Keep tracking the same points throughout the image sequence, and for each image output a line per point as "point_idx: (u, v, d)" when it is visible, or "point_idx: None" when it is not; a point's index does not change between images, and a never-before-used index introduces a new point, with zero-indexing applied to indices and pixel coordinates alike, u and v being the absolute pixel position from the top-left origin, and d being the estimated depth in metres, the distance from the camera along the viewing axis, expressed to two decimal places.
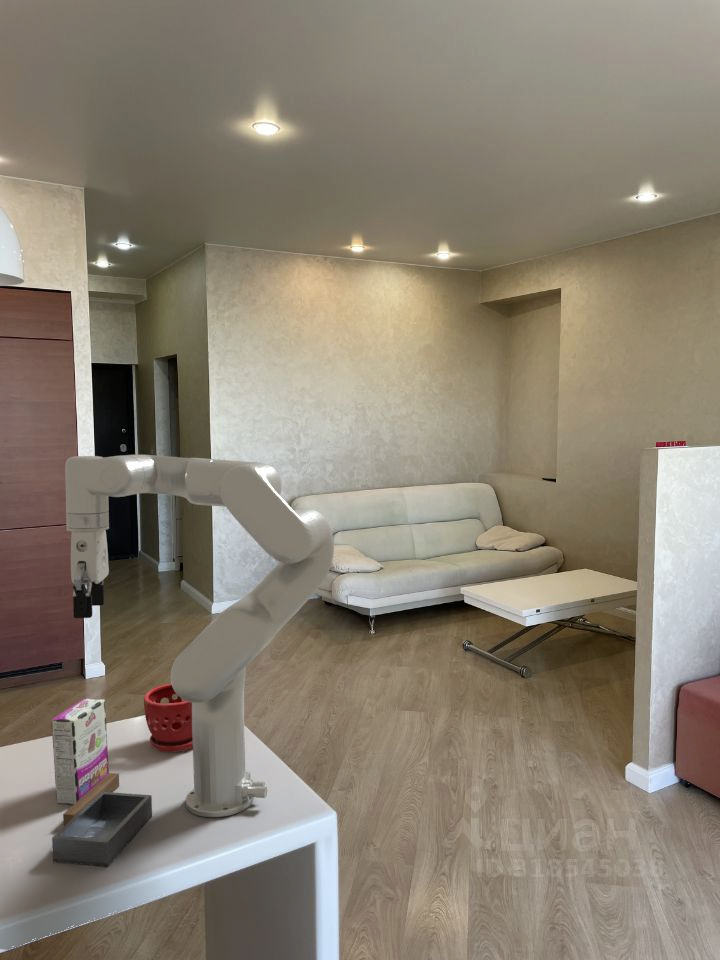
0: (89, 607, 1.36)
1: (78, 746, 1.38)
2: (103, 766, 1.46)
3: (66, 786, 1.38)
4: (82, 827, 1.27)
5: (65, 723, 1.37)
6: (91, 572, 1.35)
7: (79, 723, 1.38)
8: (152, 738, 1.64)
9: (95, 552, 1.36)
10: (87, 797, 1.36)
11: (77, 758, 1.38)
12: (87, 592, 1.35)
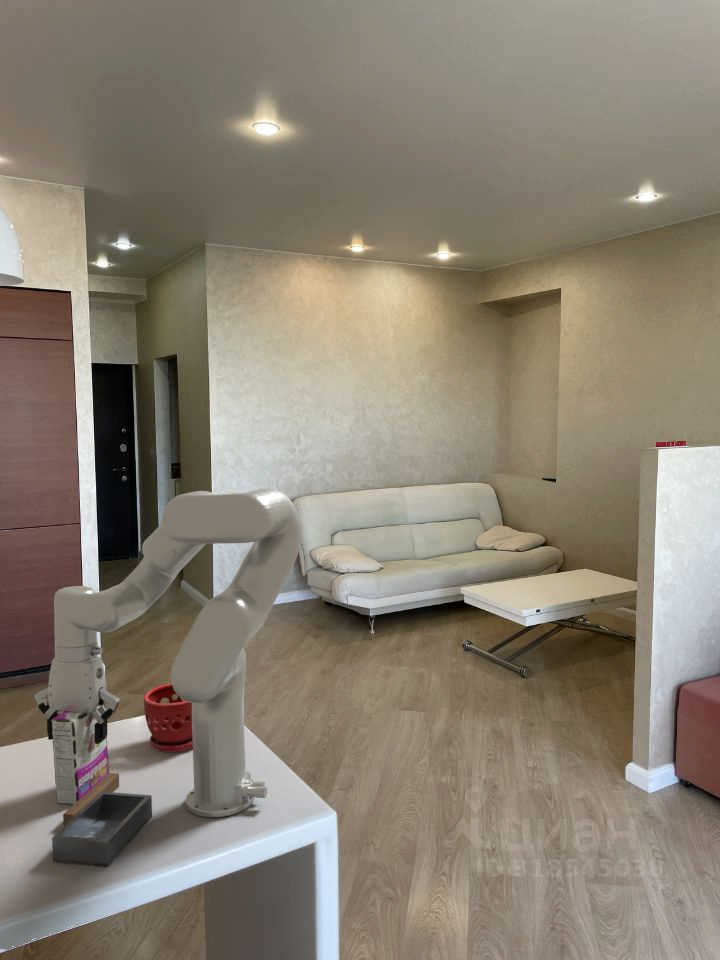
0: None
1: (78, 746, 1.38)
2: (103, 766, 1.46)
3: (66, 786, 1.38)
4: (82, 827, 1.27)
5: (65, 723, 1.37)
6: None
7: (79, 724, 1.38)
8: (152, 738, 1.64)
9: (104, 675, 1.44)
10: (87, 797, 1.36)
11: (77, 758, 1.38)
12: None
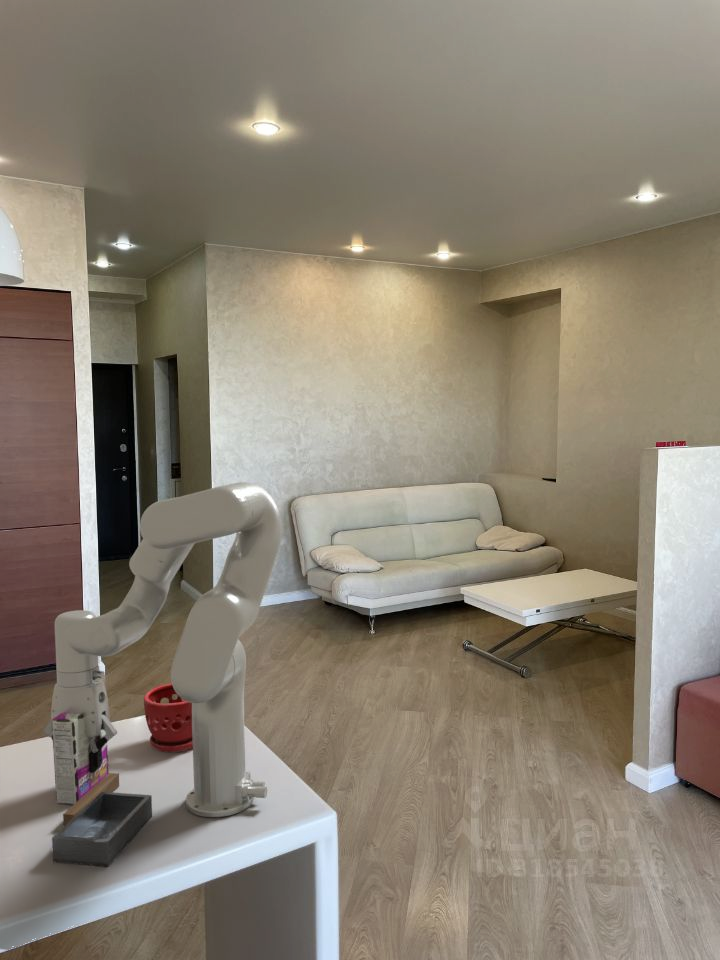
0: None
1: (78, 746, 1.38)
2: (103, 766, 1.46)
3: (66, 786, 1.38)
4: (82, 827, 1.27)
5: (65, 723, 1.37)
6: (108, 718, 1.43)
7: (79, 723, 1.38)
8: (152, 738, 1.64)
9: (107, 699, 1.44)
10: (87, 797, 1.36)
11: (77, 758, 1.38)
12: None
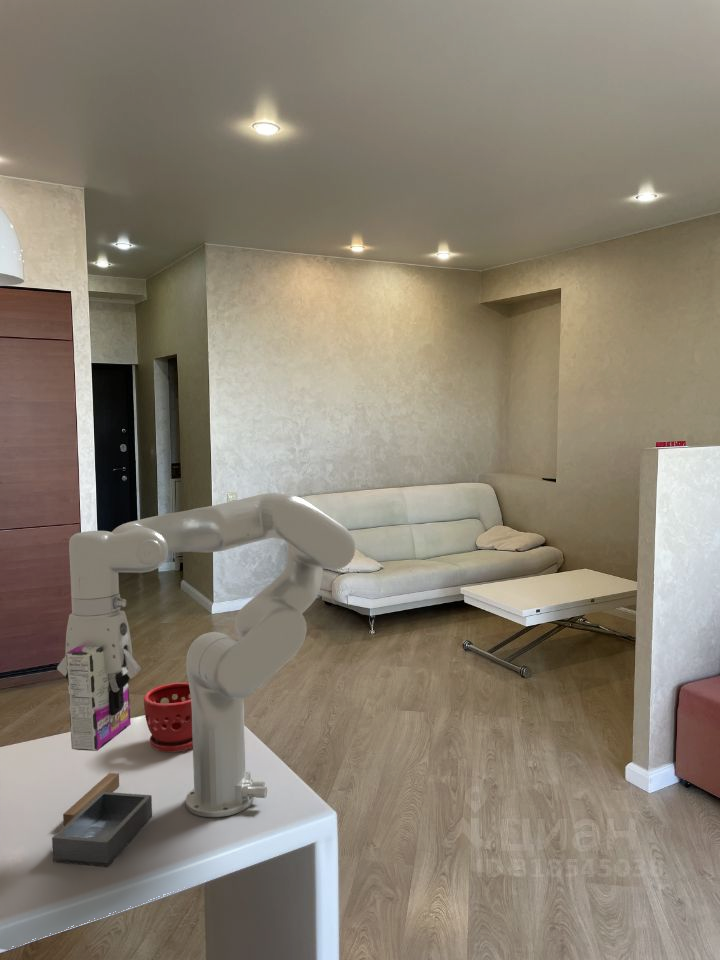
0: None
1: (97, 683, 1.20)
2: (124, 710, 1.28)
3: (83, 729, 1.20)
4: (82, 827, 1.27)
5: (82, 656, 1.19)
6: (130, 654, 1.25)
7: (97, 657, 1.20)
8: (152, 738, 1.64)
9: (129, 632, 1.26)
10: (87, 797, 1.36)
11: (95, 697, 1.19)
12: None
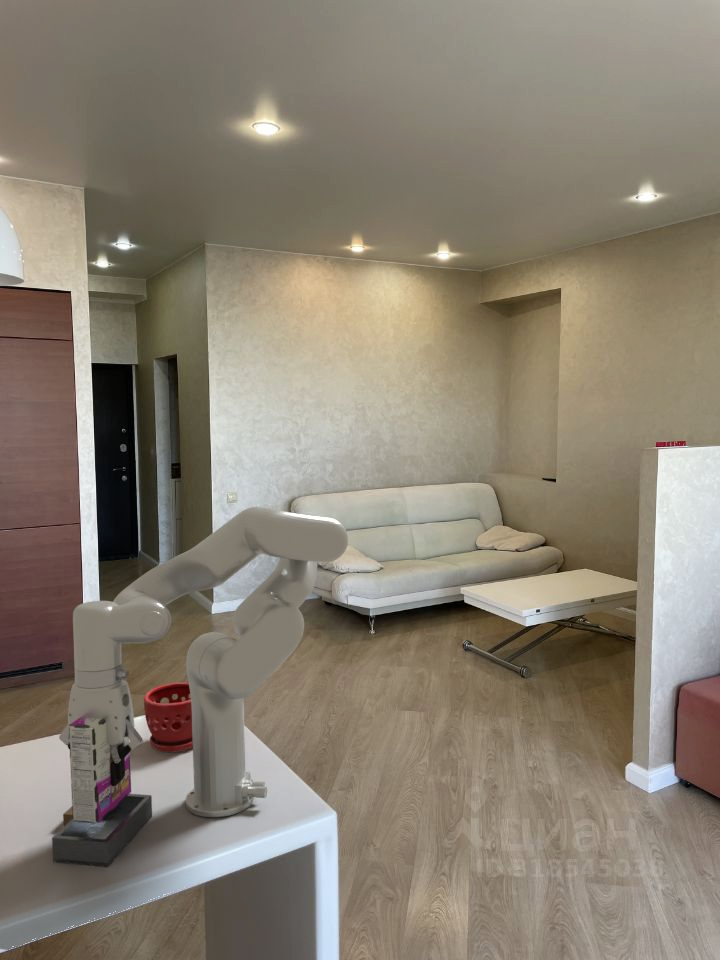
0: None
1: (99, 756, 1.21)
2: (125, 778, 1.29)
3: (84, 801, 1.20)
4: (82, 827, 1.27)
5: (85, 729, 1.19)
6: (132, 724, 1.26)
7: (100, 730, 1.21)
8: (152, 738, 1.64)
9: (131, 702, 1.26)
10: None
11: (97, 770, 1.20)
12: None
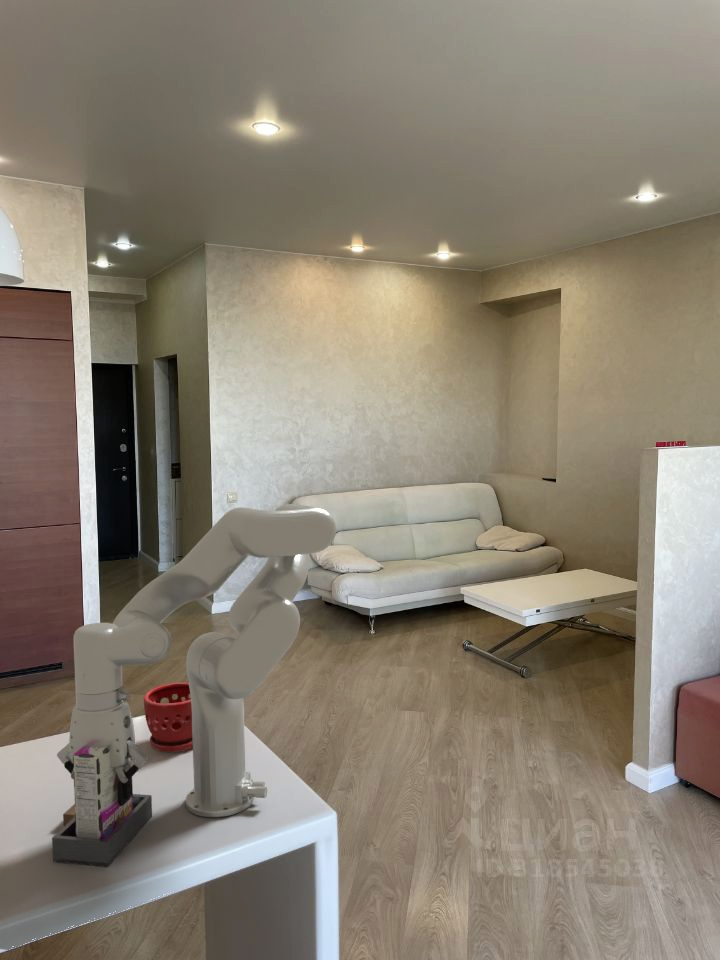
0: None
1: (103, 785, 1.21)
2: (128, 805, 1.29)
3: (88, 830, 1.21)
4: None
5: (89, 759, 1.20)
6: None
7: (104, 759, 1.21)
8: (152, 738, 1.64)
9: (132, 723, 1.27)
10: None
11: (101, 799, 1.21)
12: None
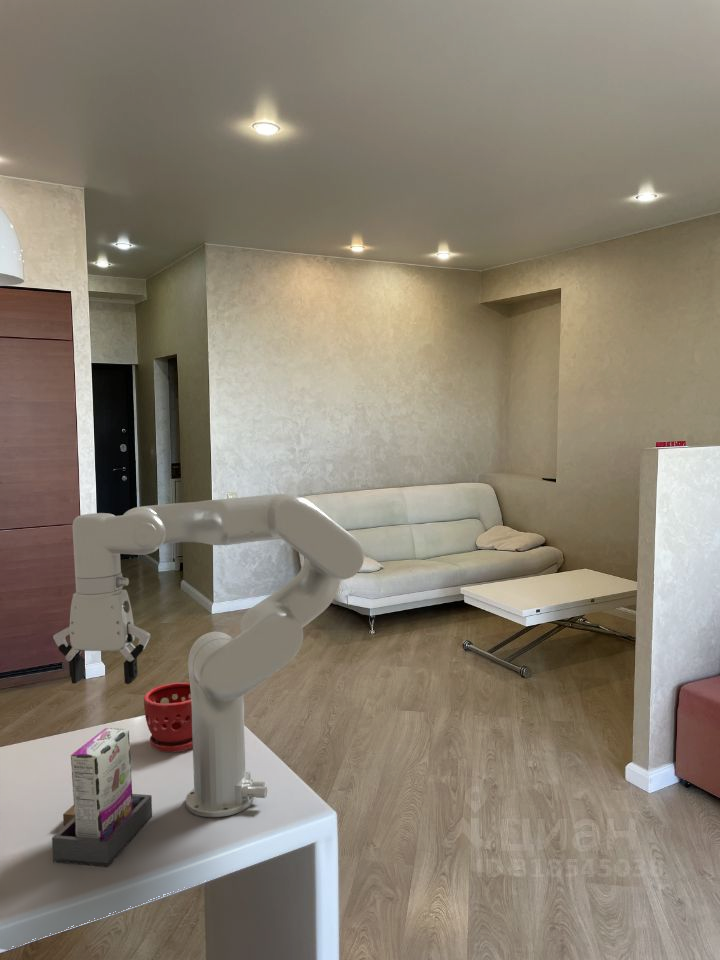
0: None
1: (102, 785, 1.21)
2: (128, 805, 1.29)
3: (88, 830, 1.21)
4: None
5: (87, 759, 1.20)
6: None
7: (102, 759, 1.21)
8: (152, 738, 1.64)
9: None
10: None
11: (100, 799, 1.21)
12: None
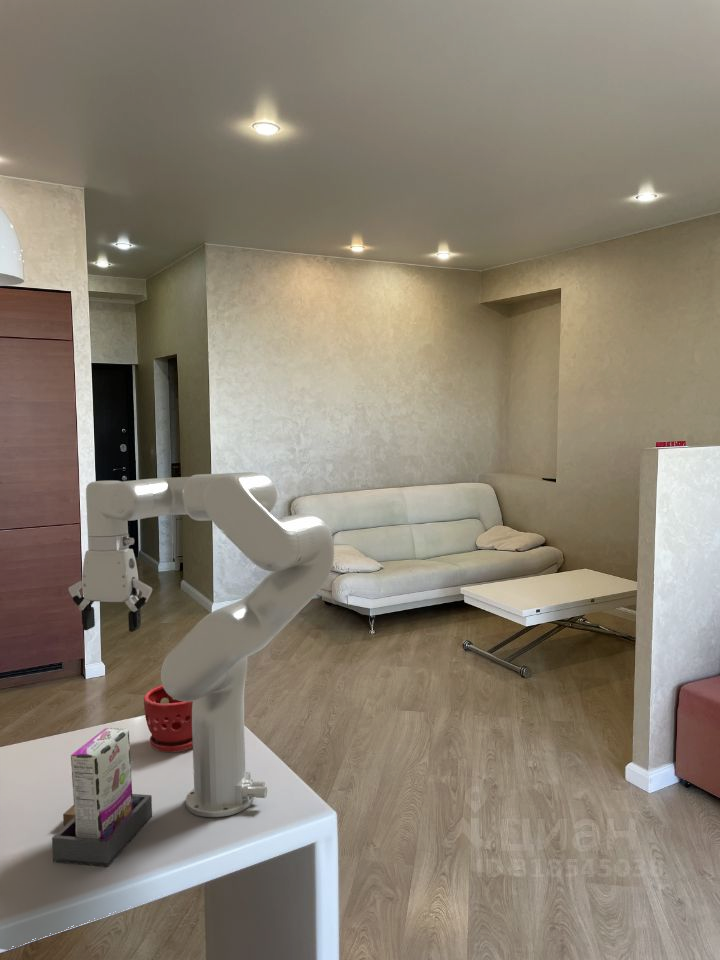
0: None
1: (102, 785, 1.21)
2: (128, 805, 1.29)
3: (88, 830, 1.21)
4: None
5: (87, 759, 1.20)
6: None
7: (102, 759, 1.21)
8: (152, 738, 1.64)
9: (136, 567, 1.48)
10: None
11: (100, 799, 1.21)
12: None
